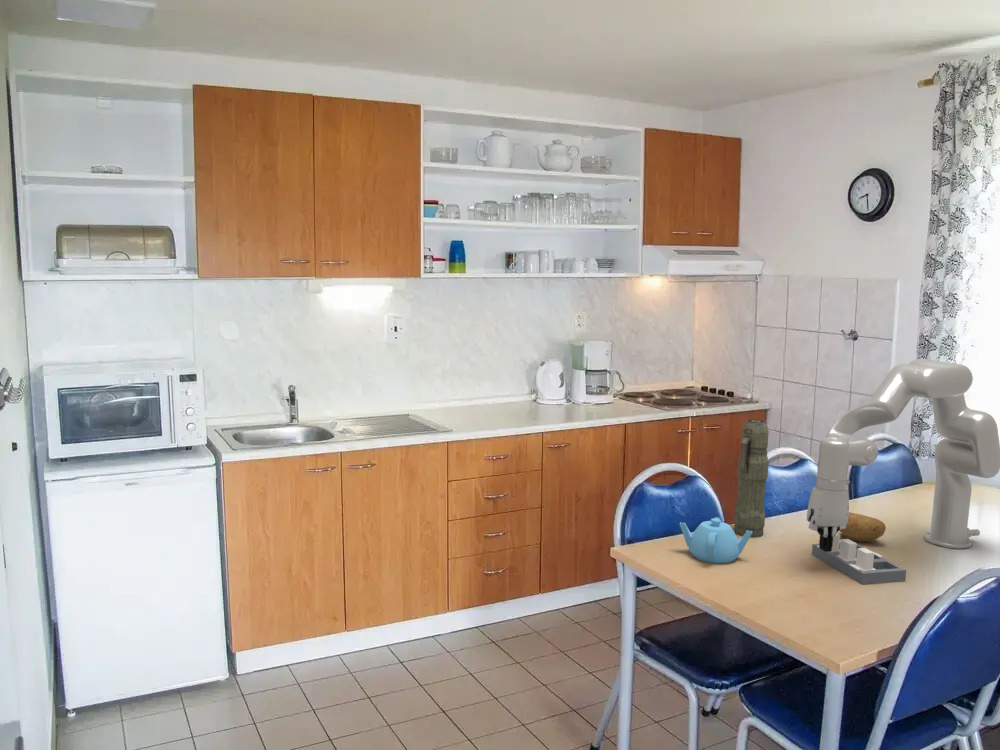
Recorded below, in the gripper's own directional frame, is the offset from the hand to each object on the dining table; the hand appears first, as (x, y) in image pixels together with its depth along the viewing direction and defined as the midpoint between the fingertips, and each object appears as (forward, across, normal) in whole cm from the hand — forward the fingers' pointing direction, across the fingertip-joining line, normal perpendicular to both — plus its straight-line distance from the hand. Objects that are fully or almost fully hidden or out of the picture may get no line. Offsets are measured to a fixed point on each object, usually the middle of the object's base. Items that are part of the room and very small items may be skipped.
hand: (825, 549), depth 220 cm
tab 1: (+4, -7, -7) cm, 11 cm away
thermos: (+6, +5, -31) cm, 32 cm away
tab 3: (+5, -7, +7) cm, 11 cm away
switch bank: (+6, -10, 0) cm, 12 cm away
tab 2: (+4, -7, 0) cm, 8 cm away
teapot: (+6, +25, -15) cm, 30 cm away
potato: (+6, -25, -19) cm, 32 cm away
